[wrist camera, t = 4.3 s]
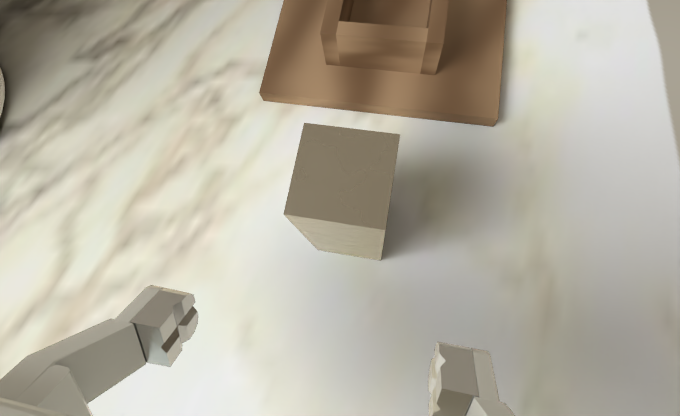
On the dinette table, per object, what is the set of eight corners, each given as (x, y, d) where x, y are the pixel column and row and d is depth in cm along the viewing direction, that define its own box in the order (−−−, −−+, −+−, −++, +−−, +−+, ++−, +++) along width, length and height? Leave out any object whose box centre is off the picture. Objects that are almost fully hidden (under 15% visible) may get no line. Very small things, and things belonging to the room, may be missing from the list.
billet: (317, 249, 23) (283, 214, 14) (329, 190, 24) (304, 122, 15) (380, 260, 22) (385, 230, 13) (389, 199, 23) (399, 134, 14)
